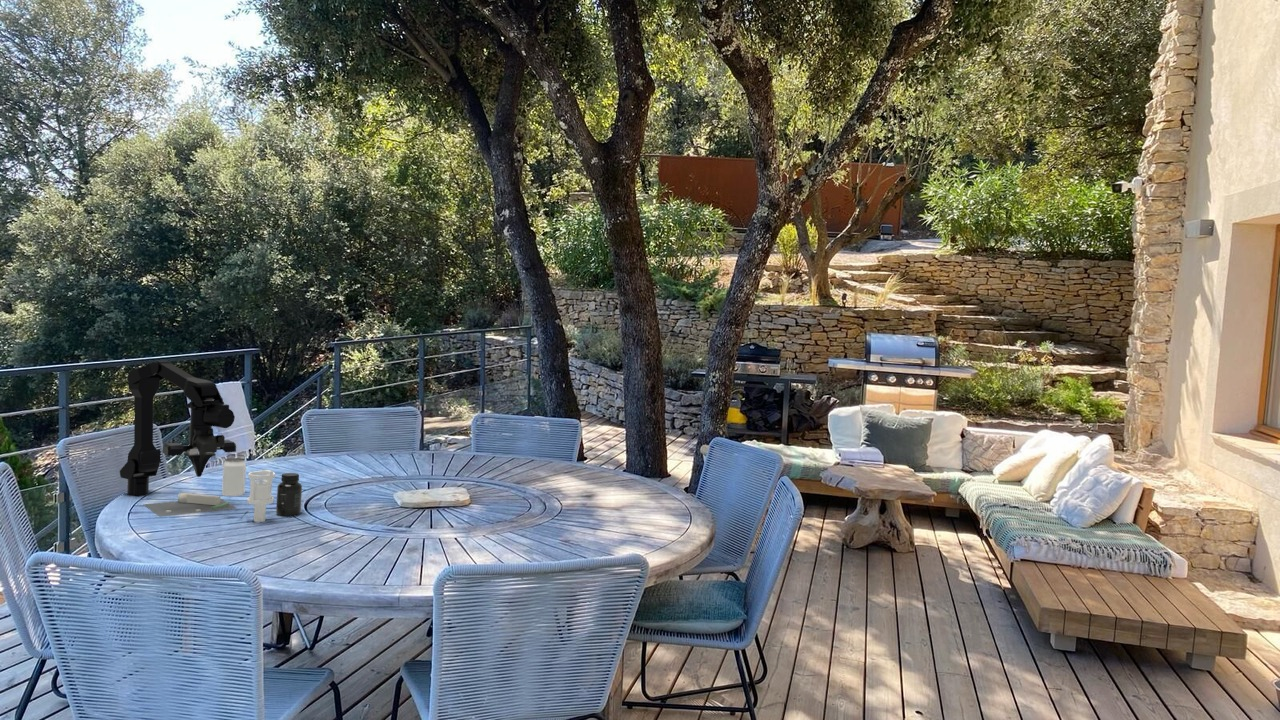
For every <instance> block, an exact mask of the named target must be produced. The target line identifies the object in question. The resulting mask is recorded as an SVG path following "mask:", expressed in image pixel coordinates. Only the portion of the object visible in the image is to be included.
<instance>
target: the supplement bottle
mask: <svg viewBox="0 0 1280 720" xmlns="http://www.w3.org/2000/svg"><path fill="white" fill-rule="evenodd" d="M280 480H281V482H280V483H278V485H277V488H276V489H277V490H276V508H275V509H276V511H275V513H276V515H278V516H279V515H280V517H295V516H294V515H296V516H298V514H299V515H300V514H301V513H302V512H301V511H302V495H303V494H302V493H303V486H302V484H301V483H300V482H299V481H300V473H296V472H284V473H282V474H281V479H280Z"/></svg>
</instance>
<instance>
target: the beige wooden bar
mask: <svg viewBox="0 0 1280 720" xmlns="http://www.w3.org/2000/svg"><path fill="white" fill-rule="evenodd" d="M220 498H221V496H218V495H217V496H216V495H209V494H198V493H191V492H179V493H178V496H177V501H178V502H179V503H196V504H206V505H216V506H217V505H220Z"/></svg>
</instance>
